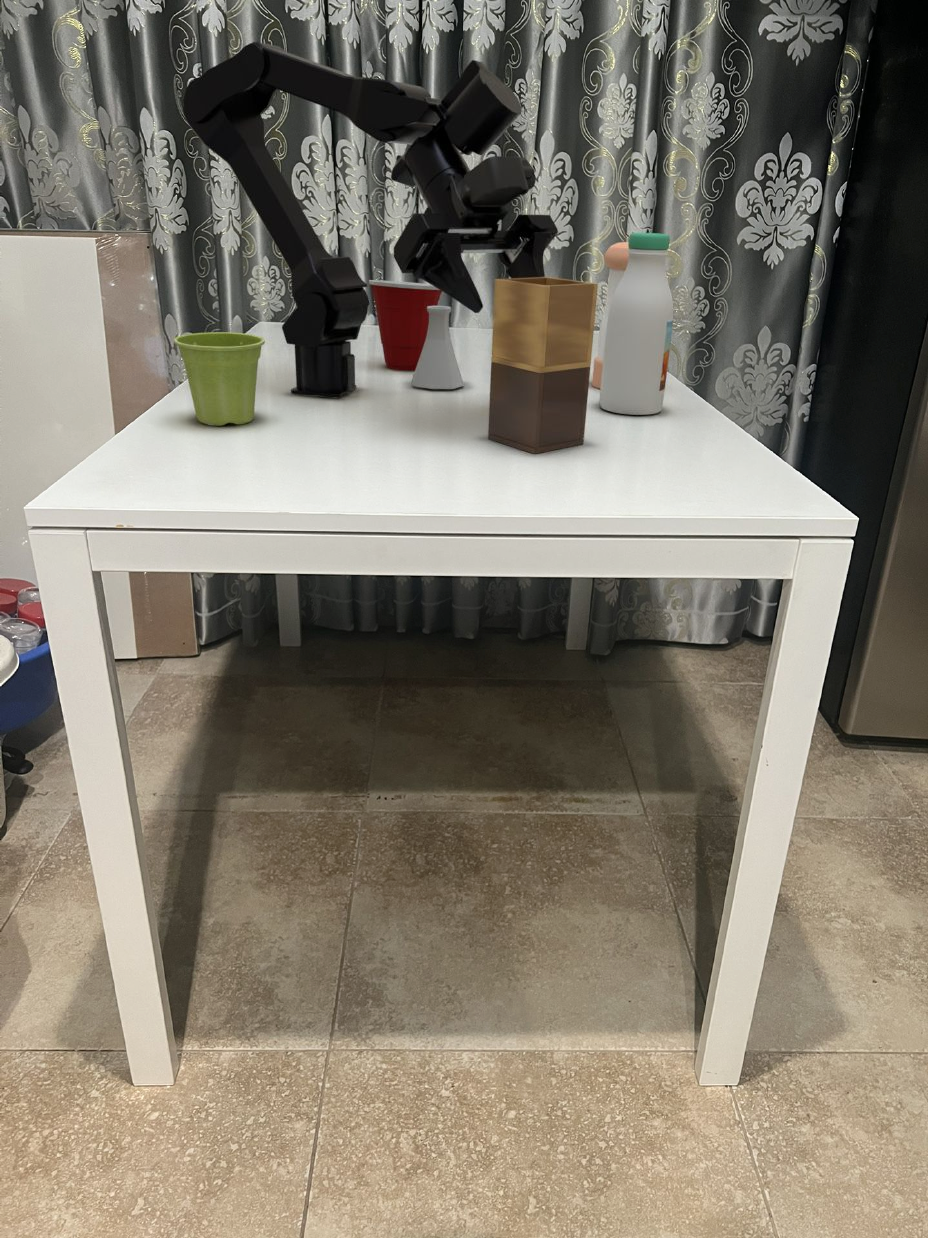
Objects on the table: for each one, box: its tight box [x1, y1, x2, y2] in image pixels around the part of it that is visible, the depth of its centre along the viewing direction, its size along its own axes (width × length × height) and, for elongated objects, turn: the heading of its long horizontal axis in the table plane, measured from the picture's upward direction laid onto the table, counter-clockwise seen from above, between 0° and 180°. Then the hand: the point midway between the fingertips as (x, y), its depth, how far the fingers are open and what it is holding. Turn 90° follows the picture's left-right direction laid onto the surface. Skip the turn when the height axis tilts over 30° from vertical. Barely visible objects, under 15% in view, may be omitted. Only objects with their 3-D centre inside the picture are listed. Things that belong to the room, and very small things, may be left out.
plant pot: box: [173, 331, 266, 427], centre depth 98 cm, size 9×9×9 cm
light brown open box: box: [490, 276, 599, 373], centre depth 91 cm, size 7×7×8 cm
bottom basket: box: [487, 361, 591, 455], centre depth 94 cm, size 7×7×8 cm
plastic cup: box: [368, 279, 443, 372], centre depth 130 cm, size 11×11×12 cm
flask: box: [410, 305, 465, 390], centre depth 119 cm, size 7×7×10 cm
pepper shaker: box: [591, 236, 629, 389], centre depth 120 cm, size 7×7×19 cm
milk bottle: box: [599, 232, 674, 416], centre depth 107 cm, size 8×8×20 cm
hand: (513, 307), depth 94 cm, fingers open, 9 cm apart
